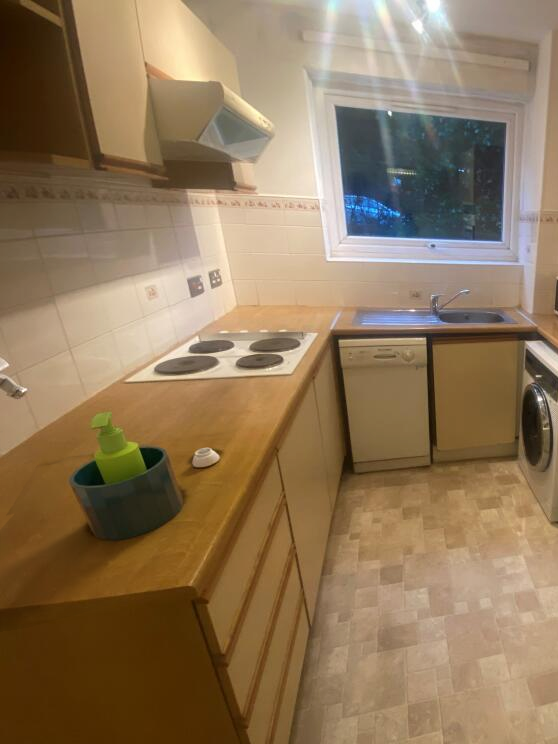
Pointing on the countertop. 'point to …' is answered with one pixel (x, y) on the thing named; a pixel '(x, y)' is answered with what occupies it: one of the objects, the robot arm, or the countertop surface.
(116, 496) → the canister
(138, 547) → the countertop surface
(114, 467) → the soap dispenser
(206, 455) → the white bowl
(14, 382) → the robot arm
